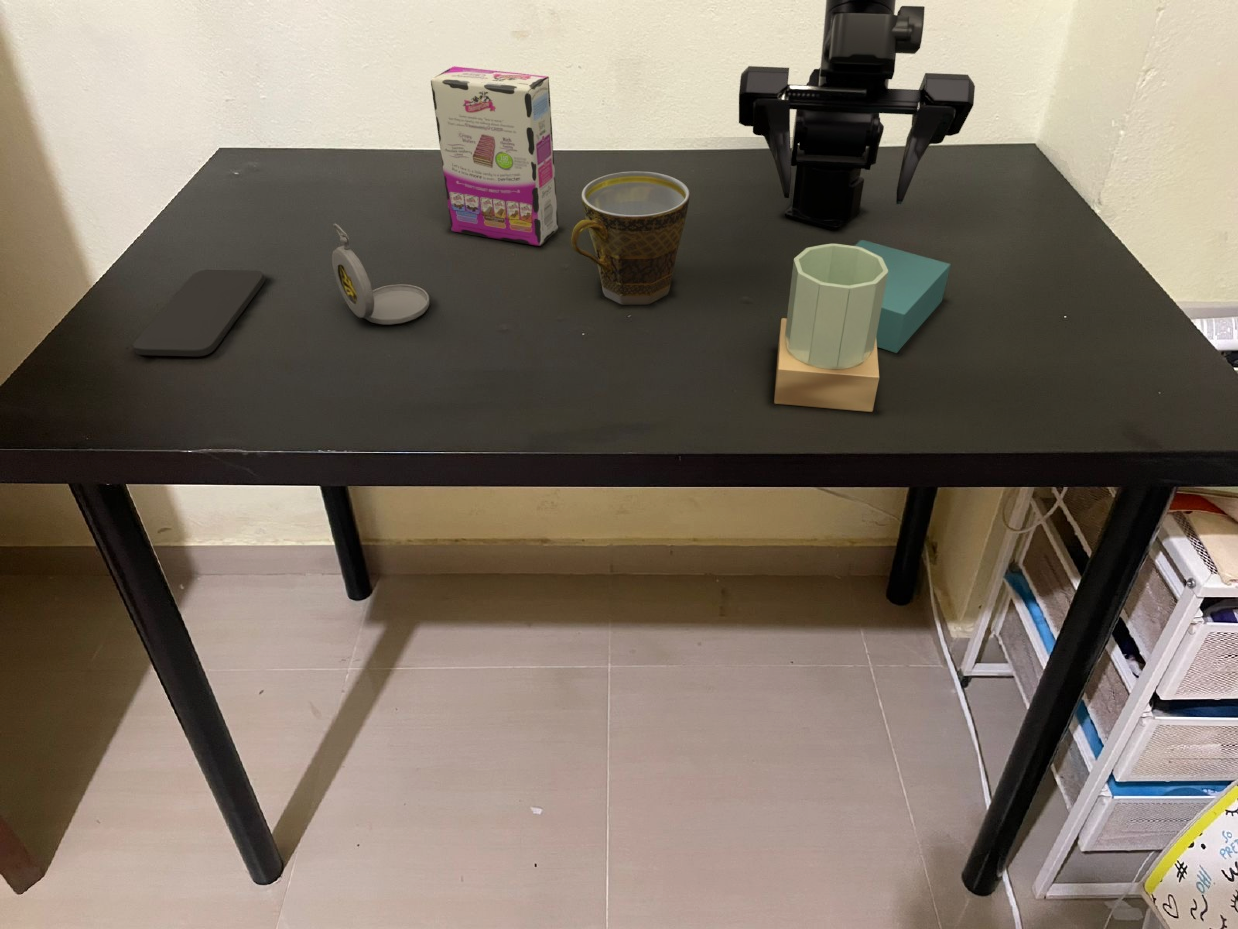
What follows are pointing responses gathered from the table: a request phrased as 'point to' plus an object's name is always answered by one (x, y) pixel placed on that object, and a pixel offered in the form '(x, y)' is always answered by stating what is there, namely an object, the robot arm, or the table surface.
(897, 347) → the box
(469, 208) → the candy bar box
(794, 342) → the pale green faceted cup
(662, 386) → the table surface
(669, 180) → the ceramic cup
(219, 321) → the phone
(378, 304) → the pocket watch
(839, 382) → the tan block
